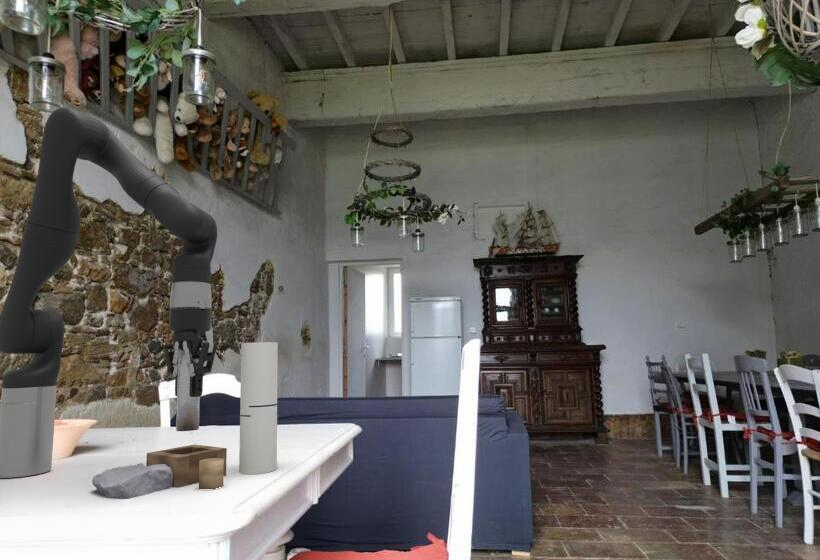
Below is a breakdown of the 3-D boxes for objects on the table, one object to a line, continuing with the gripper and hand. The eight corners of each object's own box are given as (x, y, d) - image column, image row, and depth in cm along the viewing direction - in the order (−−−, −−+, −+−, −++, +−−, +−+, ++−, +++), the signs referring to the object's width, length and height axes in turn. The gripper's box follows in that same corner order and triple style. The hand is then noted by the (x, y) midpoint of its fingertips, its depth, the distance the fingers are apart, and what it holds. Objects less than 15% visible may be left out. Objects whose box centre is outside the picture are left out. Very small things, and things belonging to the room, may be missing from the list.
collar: (145, 481, 97) (146, 453, 98) (193, 470, 106) (194, 444, 106) (178, 487, 92) (179, 457, 93) (226, 475, 100) (226, 448, 101)
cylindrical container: (271, 473, 100) (272, 342, 104) (233, 474, 101) (236, 343, 104) (280, 465, 108) (281, 342, 111) (246, 466, 108) (248, 343, 111)
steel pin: (171, 430, 99) (174, 350, 101) (190, 427, 103) (192, 350, 105) (184, 431, 97) (186, 349, 99) (203, 428, 100) (205, 349, 102)
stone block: (126, 512, 84) (179, 485, 93) (121, 483, 84) (175, 459, 93) (83, 507, 90) (137, 481, 99) (79, 479, 90) (133, 456, 99)
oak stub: (193, 488, 91) (194, 461, 92) (213, 483, 94) (214, 457, 95) (208, 491, 89) (209, 463, 90) (228, 485, 92) (228, 459, 93)
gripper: (151, 308, 104) (148, 397, 101) (196, 302, 96) (193, 399, 94) (186, 310, 110) (183, 394, 108) (230, 305, 102) (229, 395, 100)
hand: (188, 396), depth 101 cm, fingers closed on steel pin, 4 cm apart
